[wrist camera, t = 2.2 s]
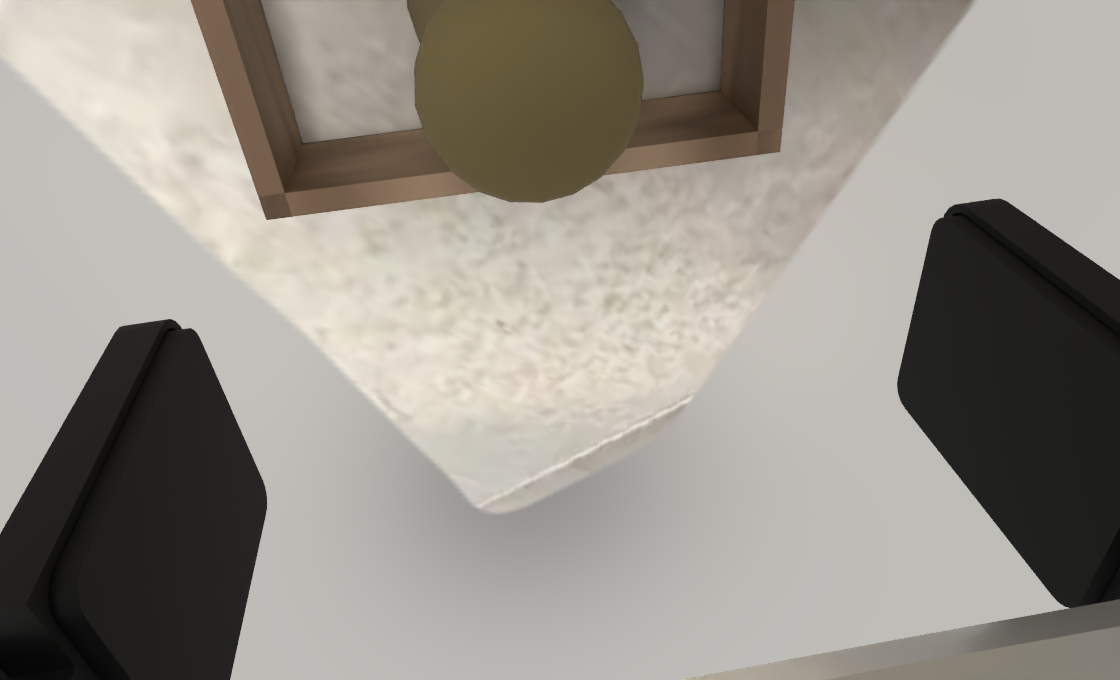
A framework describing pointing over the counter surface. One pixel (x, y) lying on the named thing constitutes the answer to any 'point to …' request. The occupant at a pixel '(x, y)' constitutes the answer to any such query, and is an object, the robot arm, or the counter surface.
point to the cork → (526, 91)
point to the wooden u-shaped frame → (413, 164)
